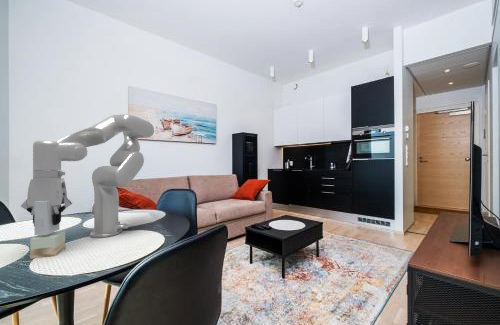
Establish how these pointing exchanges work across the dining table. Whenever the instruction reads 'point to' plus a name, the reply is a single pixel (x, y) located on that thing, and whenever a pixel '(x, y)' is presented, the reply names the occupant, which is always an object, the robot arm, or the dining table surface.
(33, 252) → the oak slab
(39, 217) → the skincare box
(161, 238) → the dining table surface
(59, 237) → the sage slab
